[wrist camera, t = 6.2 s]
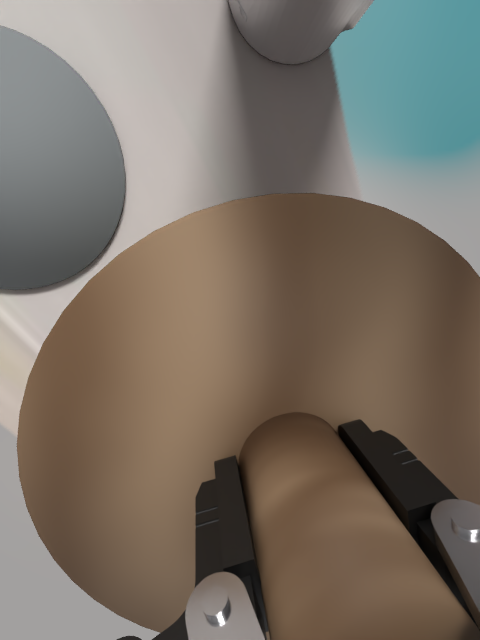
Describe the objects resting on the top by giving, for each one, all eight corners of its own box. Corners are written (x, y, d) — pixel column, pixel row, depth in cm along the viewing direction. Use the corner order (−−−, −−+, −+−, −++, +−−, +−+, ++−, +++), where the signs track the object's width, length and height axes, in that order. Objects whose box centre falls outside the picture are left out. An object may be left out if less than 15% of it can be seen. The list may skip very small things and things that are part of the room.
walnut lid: (494, 140, 10) (1003, -26, 4) (499, 548, 15) (728, 782, 8) (-72, 274, 9) (-735, 365, 3) (128, 671, 13) (69, 1052, 7)
